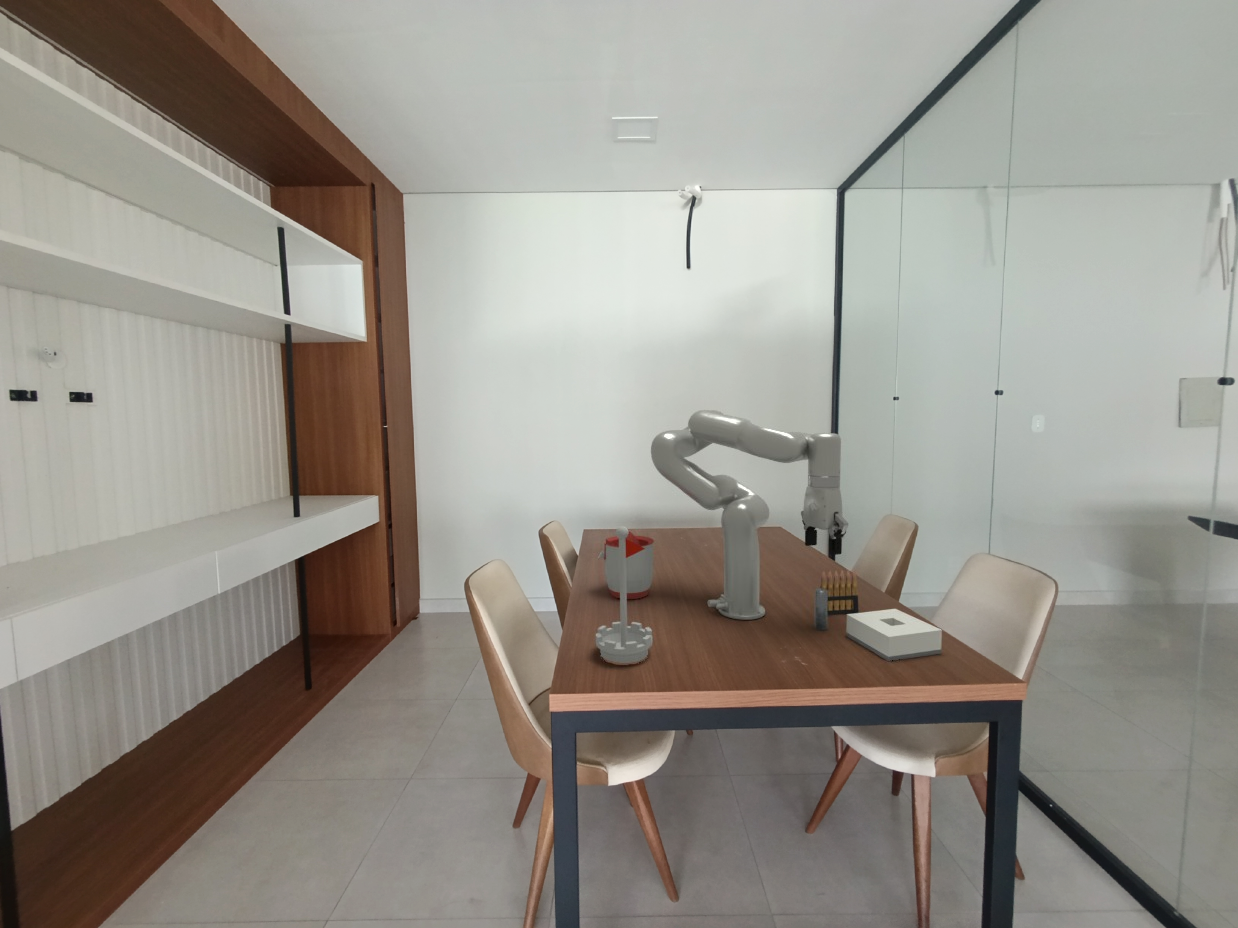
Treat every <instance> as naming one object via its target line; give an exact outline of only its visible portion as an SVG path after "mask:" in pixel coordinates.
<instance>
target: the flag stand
mask: <svg viewBox="0 0 1238 928" xmlns="http://www.w3.org/2000/svg"><path fill="white" fill-rule="evenodd" d="M628 531H629V530H628V528H627V527H626V526H624V525H620V526H618V527H617V528H616V530H615V535H616V536H617V537H618V538H619V570H620V599H619V611H620V613H619V616H620V617H619V618H620V621H613V622H611V627H608V628H607V625H601V626H599V627H598V628H597V633H595V645H596V647H597V648H598V649H599V652H600V653H601V655H600V657H601V656H602V657H603V658H605V659H607V660H610V661H613V662H619V663H631V662H637V661H640V660H642V659H644V658H645V657H647V655H648V656H649V648H651V647H652V645H653V630H652V628H651V627H650V626H647V627H644V628H643V623H640V622H636V621H632V622H631V623H630V624H631V625H628V605H627V604H628V603H627V601H628V599H627V591H626V558H627V557H629V556H632V555H634V554H636V553H638V552H640V551H642V550H644V549H645V548H643V547H641V546H639V545H637V544H635V543H633V542H631V541H629V540H627V539H626V537H627V536H628V533H629V532H628ZM616 536H615V537H616ZM647 658H648V657H647Z"/></svg>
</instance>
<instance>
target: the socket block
mask: <svg viewBox="0 0 1238 928" xmlns="http://www.w3.org/2000/svg"><path fill="white" fill-rule="evenodd" d="M942 632H943V630H942V629H941V628H938V627H936V626H934V625H932V624H930V623H928V622H925V621H923V620H921V619H919V618H917V617H914V616H912V615H911V614H908V613H906V612H903V611H901V610H899V609H897V608H891V609H890V608H888V609H883V610H872V611H865V612H859V613H855V614H846V637H847V638H849V639H850V640H852V641H854V642H855V643H857V644H859V645H860V646H862V647H864V648H865V649H867V650H869V651H871V652H872V653H874V654H875V655H877V656H878V657H880V658H882V659H884V660H886V661H887V662H892V660H893V661H900V660H907V659H914V658H920V657H927V656H928V657H929V656H932V655H934V656H935V655H941V654H942V641H943V640H942V639H943V633H942ZM899 659H900V660H899Z"/></svg>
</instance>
